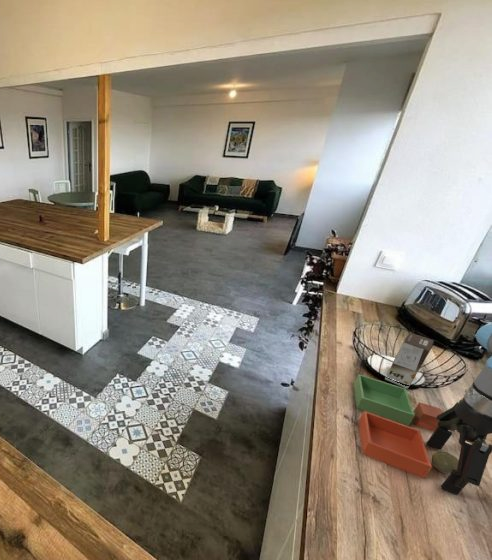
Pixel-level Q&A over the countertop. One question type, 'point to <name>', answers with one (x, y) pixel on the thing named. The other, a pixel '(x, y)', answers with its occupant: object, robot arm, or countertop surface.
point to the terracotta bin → (394, 444)
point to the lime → (445, 462)
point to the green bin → (383, 399)
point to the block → (426, 416)
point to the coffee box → (409, 359)
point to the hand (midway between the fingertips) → (440, 467)
